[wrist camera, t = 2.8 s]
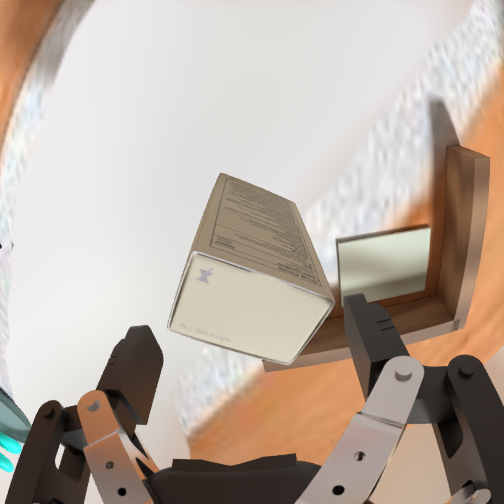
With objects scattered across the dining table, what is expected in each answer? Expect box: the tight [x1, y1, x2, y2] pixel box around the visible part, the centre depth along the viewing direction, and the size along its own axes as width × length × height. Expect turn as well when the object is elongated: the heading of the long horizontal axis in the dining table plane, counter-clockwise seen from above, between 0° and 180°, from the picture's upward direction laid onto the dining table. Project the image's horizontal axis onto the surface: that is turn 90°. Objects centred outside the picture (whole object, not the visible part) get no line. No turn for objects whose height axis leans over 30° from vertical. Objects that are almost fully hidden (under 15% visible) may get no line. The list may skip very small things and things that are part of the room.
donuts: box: [0, 432, 21, 472], centre depth 48 cm, size 10×10×10 cm
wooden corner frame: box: [262, 146, 490, 372], centre depth 23 cm, size 16×19×4 cm
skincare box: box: [167, 173, 335, 365], centre depth 18 cm, size 6×4×12 cm
